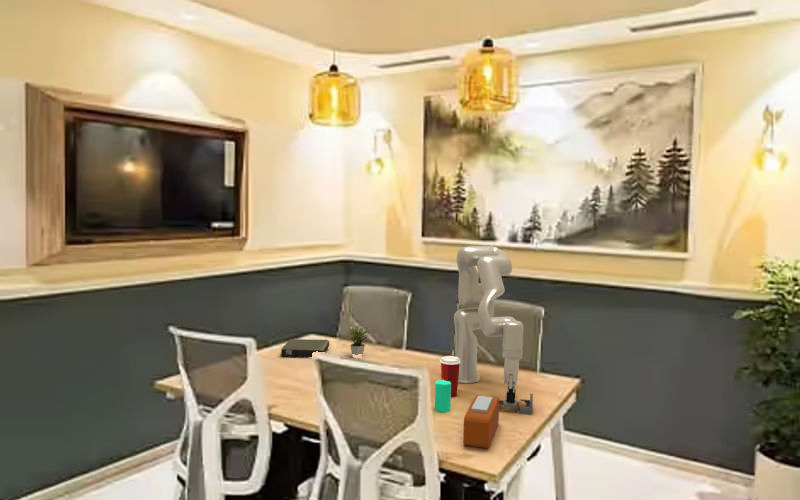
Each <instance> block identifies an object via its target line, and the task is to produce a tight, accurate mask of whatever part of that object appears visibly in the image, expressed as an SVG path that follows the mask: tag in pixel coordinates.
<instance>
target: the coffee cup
mask: <svg viewBox="0 0 800 500" xmlns="http://www.w3.org/2000/svg"><path fill="white" fill-rule="evenodd" d="M439 362H440V371H441V373H440V374H441V380H445V381H450V383H451V397H454V398H455V397H456V396H457V395H458V389H459V388H458V385H459V382H458V377H459V365H460V360H459V358H458V357H455V356H453V355H446V356H442V357H441V358H440V360H439Z"/></svg>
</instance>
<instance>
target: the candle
mask: <svg viewBox="0 0 800 500" xmlns="http://www.w3.org/2000/svg"><path fill="white" fill-rule="evenodd" d="M451 399H452V398H451V383H450V381H445V380H442V379H440V380H439V379H438V380H437V381H435V382H434V410H435V411H436V412H439V413H448V412H450V411H451V407H452V406H451V404H452V402H451V401H452V400H451Z"/></svg>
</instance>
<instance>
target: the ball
mask: <svg viewBox="0 0 800 500" xmlns="http://www.w3.org/2000/svg"><path fill="white" fill-rule="evenodd" d="M517 402H518V410H520V406H525V407H527V404H526V402H525V401H520V400H519V401H517Z"/></svg>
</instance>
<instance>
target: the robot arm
mask: <svg viewBox="0 0 800 500" xmlns="http://www.w3.org/2000/svg"><path fill="white" fill-rule="evenodd" d="M456 266H457V270H458V291H457V293H458V295H457V296H458V301H459V303H460V305H462V306H467V308H466V307H464V308H460V309H458V310H457V311H456V312H455V313H454V315H453V323H454V331H455V350H454V352H455V354H454V355H455V356H454V357H458V358H459V360H460V365H459V377H458V384H475V383H478V382H479V381H481V377H480V376H479V375H478V374H477V371H478V369H477V368H478V367H477V366H478V365H477V363H478V338H477V337H476V335H475V334H474V332H473V331H477V330H481V332H482V334H483V335H484V336H485V337H487V338H496V337H502V352H501V353H502V355H501V356H502V358H503V359H504V364H503V365H504V366H503V367H504V368H503V385H506V386H507V387H506V396H505V397H506V398H505V400H506V402H510V403H515V400H516V390H517V389H516V385H517V383H518V379H519V378H518V377H519V371H520V367H519V366H520V360H522V359H523V355H524V354H523V349H524V348H523V347H524V346H523V345H524V324H523V322H522V321H520V320H516V318H514V317H513V316H507V315H506V316H494V315H495V299H497V298H499V297H500V296H502V295H503V294H504V293H505V292H506V291H505V289H506V288H505V286H504V281H503V277H505V276H507V277H508V276H510V274H512V272H513V271H512V270H513V263H512V260H511V259H510V257H509V256H508V255H507V254H506V253H505V252H504V251H502V250H501V249H500V248H498V247H497V246H495V245H494V246H493V245H469V246H464V247H461V248H459V250H458V252H457V254H456ZM479 280H480V283H479ZM469 306H478V307H469ZM468 307H469V308H468ZM513 383H514V384H513ZM512 386H513V387H512Z"/></svg>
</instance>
